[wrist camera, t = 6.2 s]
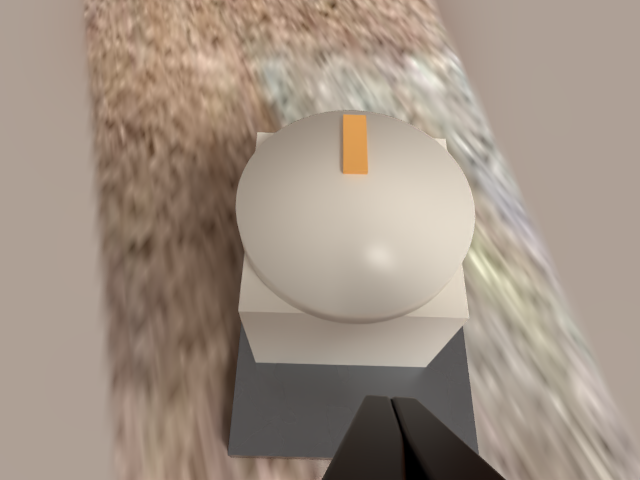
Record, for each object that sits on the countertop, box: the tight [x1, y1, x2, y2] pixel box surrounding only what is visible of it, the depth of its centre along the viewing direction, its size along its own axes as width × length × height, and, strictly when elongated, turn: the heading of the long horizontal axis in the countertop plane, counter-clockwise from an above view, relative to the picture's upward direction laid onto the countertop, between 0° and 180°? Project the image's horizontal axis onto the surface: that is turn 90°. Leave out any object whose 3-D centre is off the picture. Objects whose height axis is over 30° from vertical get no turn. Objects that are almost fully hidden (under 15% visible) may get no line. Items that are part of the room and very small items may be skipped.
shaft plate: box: [228, 322, 479, 460], centre depth 19 cm, size 12×10×7 cm
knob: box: [236, 110, 475, 367], centre depth 18 cm, size 8×8×7 cm
